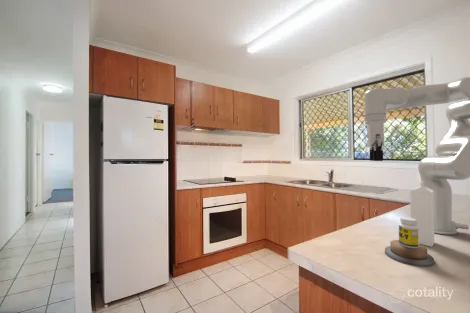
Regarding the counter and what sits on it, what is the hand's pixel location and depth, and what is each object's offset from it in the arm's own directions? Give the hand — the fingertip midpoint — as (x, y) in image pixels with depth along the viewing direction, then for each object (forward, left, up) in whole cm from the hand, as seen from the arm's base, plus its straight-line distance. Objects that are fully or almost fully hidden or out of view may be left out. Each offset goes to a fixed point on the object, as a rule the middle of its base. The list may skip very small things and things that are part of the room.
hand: (376, 160), depth 90 cm
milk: (-14, +5, -30) cm, 33 cm away
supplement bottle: (-6, +22, -26) cm, 35 cm away
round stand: (-6, +22, -30) cm, 37 cm away
